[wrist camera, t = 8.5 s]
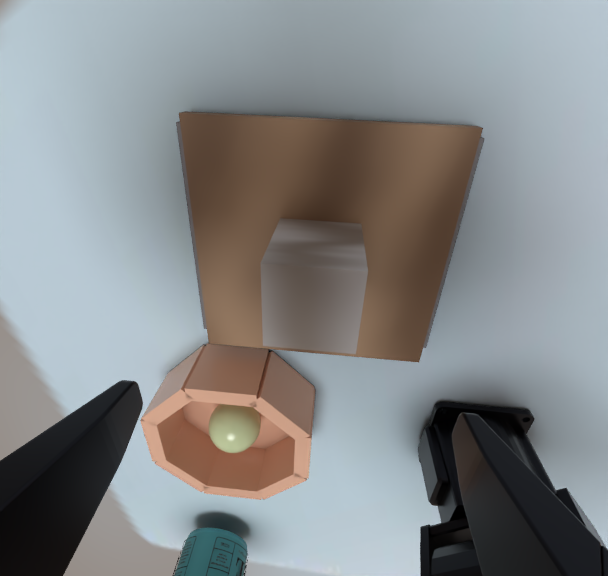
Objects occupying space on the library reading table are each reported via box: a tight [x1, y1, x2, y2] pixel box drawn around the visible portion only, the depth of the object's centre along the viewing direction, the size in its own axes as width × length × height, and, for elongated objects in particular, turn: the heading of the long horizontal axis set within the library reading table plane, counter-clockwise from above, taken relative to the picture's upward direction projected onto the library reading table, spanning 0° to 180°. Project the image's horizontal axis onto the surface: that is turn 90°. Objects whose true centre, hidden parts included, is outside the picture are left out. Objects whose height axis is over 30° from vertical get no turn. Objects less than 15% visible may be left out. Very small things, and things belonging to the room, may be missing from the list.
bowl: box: [141, 344, 315, 500], centre depth 25 cm, size 11×11×4 cm
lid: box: [179, 112, 483, 362], centre depth 17 cm, size 13×13×6 cm
